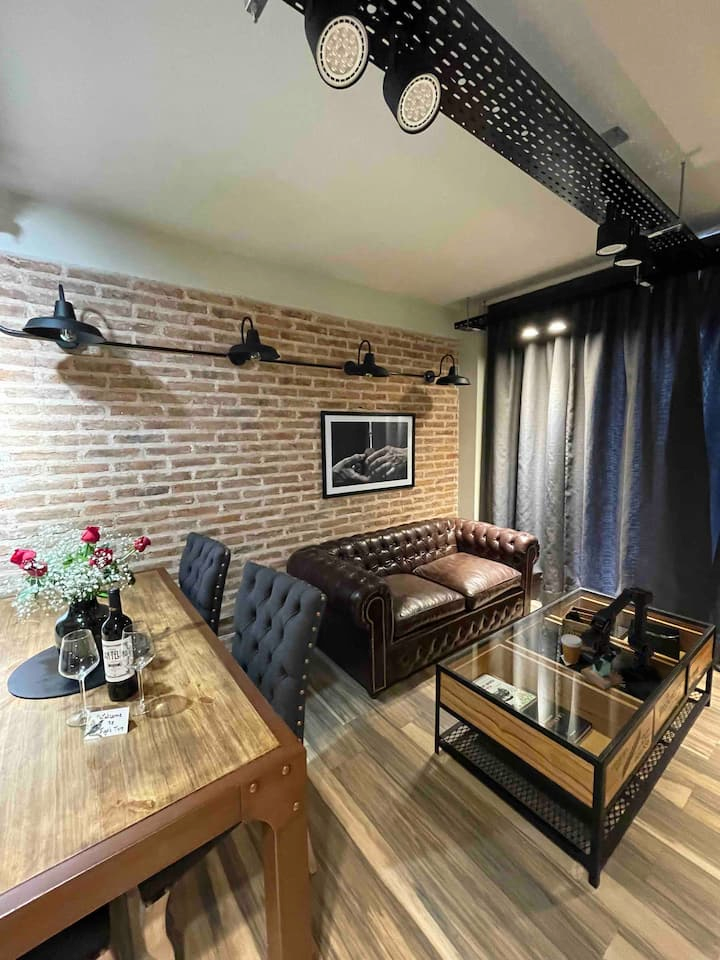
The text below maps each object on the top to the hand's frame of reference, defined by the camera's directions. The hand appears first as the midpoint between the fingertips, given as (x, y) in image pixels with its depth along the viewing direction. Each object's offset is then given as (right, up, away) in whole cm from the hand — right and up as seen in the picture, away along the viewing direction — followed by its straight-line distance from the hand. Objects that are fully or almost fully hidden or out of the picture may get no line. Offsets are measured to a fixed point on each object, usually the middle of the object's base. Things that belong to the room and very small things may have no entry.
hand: (601, 669), depth 189 cm
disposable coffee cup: (-7, -3, +15) cm, 17 cm away
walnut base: (0, -4, +1) cm, 5 cm away
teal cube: (0, -1, 0) cm, 1 cm away
